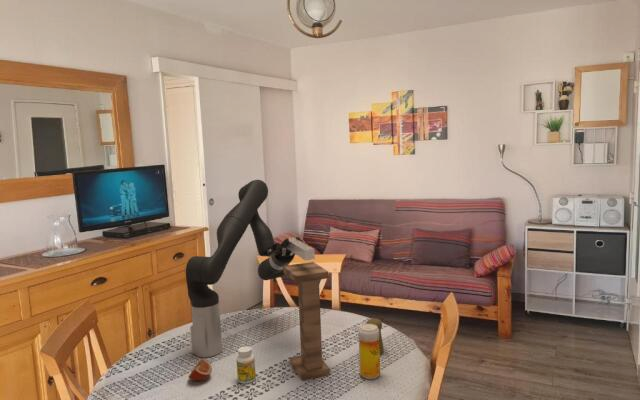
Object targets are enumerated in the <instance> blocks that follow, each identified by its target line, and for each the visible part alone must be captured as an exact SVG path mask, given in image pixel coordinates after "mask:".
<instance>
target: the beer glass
mask: <svg viewBox="0 0 640 400" xmlns="http://www.w3.org/2000/svg"><path fill="white" fill-rule="evenodd" d="M358 355H359V357H358V358H359V374H360V375H361V377H362V378H363V379H366V380H375V379H377V378H378V377H379V376H380V375H381V358H380V357H381V355H380V345H379V329H378V327H377V326H376V325H374V324H366V323H364V324H361V325H360V326H359V329H358Z"/></svg>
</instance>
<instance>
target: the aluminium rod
mask: <svg viewBox="0 0 640 400" xmlns="http://www.w3.org/2000/svg"><path fill="white" fill-rule="evenodd" d="M286 238H287V237H285V238H284V240H285V239H286ZM288 238H289V245H288V247H287V249H289V250H290V251H292V252H293V253H295V256H297V257H299V258H300V259H301V260H303V261H310V260H311V261H312V260H315V259H316V257H315V255H316V254H315V248H313V247H311V246H310V245H308V244H306V243H305V242H304V241H303V242H301V241H299V240H297V239H295V238H296V237H293V236H292V237H288Z"/></svg>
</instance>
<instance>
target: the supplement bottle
mask: <svg viewBox="0 0 640 400" xmlns="http://www.w3.org/2000/svg"><path fill="white" fill-rule="evenodd" d="M252 351H253V350H252V347H251V346H241V347H239V348H238V349H237V354H238V355H237V356H236V358H235V359H236V373H237V381H238V383H240V384H244V385H245V384H251V383H253V382H254V381H255V380H256V377H257V376H256V375H257V374H256V363H255V362H256V361H255V355H254V354H253V352H252Z"/></svg>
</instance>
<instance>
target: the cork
mask: <svg viewBox="0 0 640 400" xmlns="http://www.w3.org/2000/svg"><path fill="white" fill-rule="evenodd" d="M365 324H374V325H376V326H377V327H378V329H379V345H380V356H381V355H383V354H384V353H385V350H384V344H383V343H384V342H383V337H382V332H381V330H382V329H383V323H382V320H380V319H379V318H370V319H368V320H367V321H366V323H365Z"/></svg>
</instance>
